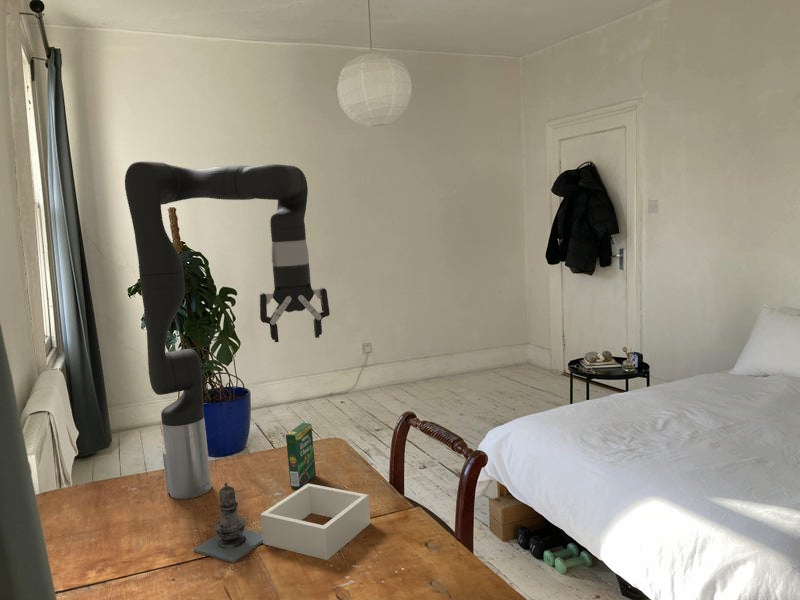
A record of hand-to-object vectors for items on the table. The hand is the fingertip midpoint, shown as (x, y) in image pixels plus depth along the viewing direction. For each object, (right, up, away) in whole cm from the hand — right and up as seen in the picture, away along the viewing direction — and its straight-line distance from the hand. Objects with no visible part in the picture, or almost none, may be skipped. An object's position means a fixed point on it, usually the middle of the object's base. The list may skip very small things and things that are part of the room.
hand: (297, 339), depth 136 cm
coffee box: (-1, -35, +16) cm, 38 cm away
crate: (+6, -37, -9) cm, 39 cm away
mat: (-11, -39, -12) cm, 42 cm away
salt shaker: (-11, -38, -12) cm, 42 cm away
